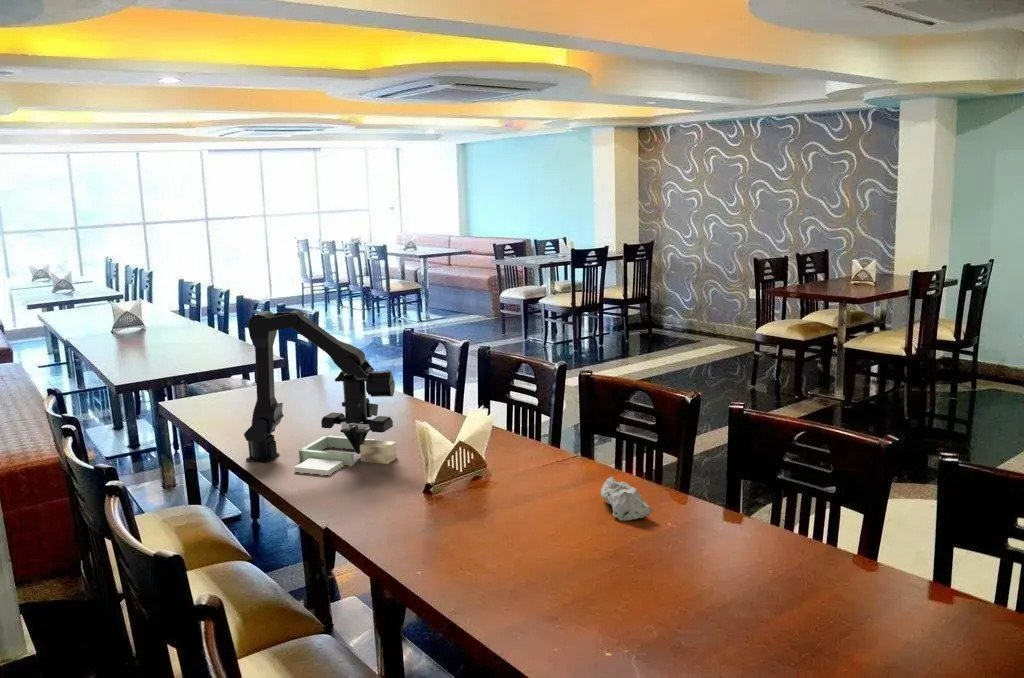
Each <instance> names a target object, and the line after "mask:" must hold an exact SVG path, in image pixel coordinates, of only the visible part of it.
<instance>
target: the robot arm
mask: <svg viewBox="0 0 1024 678" xmlns="http://www.w3.org/2000/svg"><path fill="white" fill-rule="evenodd" d="M247 327H248V328H247V329H248V333H249V339H250V340H251V343H252V344H253V346H254V351H255V353H254V355H255V356H254V357H255V358H254V359H255V378H256V379H255V381H256V384H255V385H256V402H255V405H254V408H253V412H252V419H251V426H250V427H248V428H247V429H246V431H245V432H244V433H243V437H244V438H245V440H246V441H247V442H248V443H247V444H248V445H247V446H248V454H249V456H248V457H246V458H245V461H247V462H257V463H268V462H270V461H271V460H273V459H275V458H277V457H278V456H280V453H279V452H278V450H277V442H276V440H275V435H274V434H273V433H275V431H276V427H278V426H279V424H280V423H281V421H282V418H283V417H284V413H283V405H284V404H283V402H278V401H277V399H276V396H275V395H276V394H275V371H274V365H275V364H274V345H275V344H274V343H275V341H276V336H277V334H278V331H280V330H284V329H293V330H294V331H295V332H297V333H299V335H301V336H302V337H304V338H305V339H307V340H308V341H309V342H311V343H312V344H314V345H315V346H316V347H318V348H319V349H320V350H322V352H324V353H326V354H327V355H328V356H329V357H330V359H331V360H332V362H333V363H334V364H335V365H336V366H337V367H338V369H340V370H341V371H340V372H339V374H338V376H337V377H336V378H334V382H336V383H337V382H338V383H339V382H342V387H343V402H341V407H344V413H343V412H329V414H326V415H325V416H323V417H322V418H321V420H320V427H321V428H322V429H333V428H334V426H335V425H341V429H340V433H343V434H344V437H347V439H348V440H349V441H350V443H351V445H352V446H353V448H354V449H353V450H354V451H355V453H356V454H360V445H362V444H363V443H364V441H365V439H367V435H368V433H369V432H370V431H371V432H372V433H385V432H386V431H388V430H390V429H391V428H393V427H394V422H393V419H392V418H391V416H385V415H384V416H383V415H378V411H379V410H378V409H379V404H376V403H371V402H370V399H369V397H367V395H368V396H370V397H373V398H376V397H377V398H378V397H394V396H395V395H394V394H395V388H396V387H395V380H394V377H393V375H392V370H391V369H389V370H388V369H387V370H382V371H381V370H379V371H377V370H376V371H375V368H374V367H373V366H372V365H371V364H370V362H368V360H367V359H366V354H365V352H364V351H363V350H362V349H360V348H358V347H356V346H355V345H352V344H350V343H346V342H343V341H341V340H339V339H337V338H336V337H335V336H333V334H330V333H329V332H328V331H326V330H325V329H323V327H320V326H319V325H318V324H317V323H315V321H312V320H311V319H310V318H308V317H307V316H306V315H304V314H303V313H302V312H301V311H300V310H296V309H295V310H292V311H282V312H275V313H273V312H272V311H270V310H264V311H261V312H259V313H257V314H254V315H252V316H251V317H250V318H249V320H248V322H247ZM373 416H375V418H373V419H371V418H372V417H373ZM369 418H370V419H369Z"/></svg>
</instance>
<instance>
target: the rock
mask: <svg viewBox="0 0 1024 678" xmlns="http://www.w3.org/2000/svg"><path fill="white" fill-rule="evenodd" d="M638 491H639V490H638V488H637V487H633V486H631V485H630V484H629V483H627V482H625V481H619V482H617V480H616V479H615V477H614V476H613V475H612V476H609V477H608V478H606V480H605V481H604V483H603V484H602V487H601V489H600V492H599V493H600V495H601V497H602V498H603V499H605V501H606V503H607V504H608V505H611V508H612V516H613V517H614V518H616V519H618V520H619V521H620V522H621V521H625V522H626V521H633V520H637V519H642V518H644V517H646V516H650V515H651V514H652V513H653V509H652V507H651V506H649V504H648V502H646V501H644V499H643V497H642V495H641V494H639V492H638Z"/></svg>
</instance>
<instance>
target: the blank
mask: <svg viewBox="0 0 1024 678" xmlns="http://www.w3.org/2000/svg"><path fill="white" fill-rule="evenodd" d="M397 457H398V456H397V442H396V441H388V440H379V439H378V440H377V439H376V440H368V441H366V442H365V443H363V444H362V445H360V462H363V461H365V462H367V463H375V462H376V463H377V464H385V465H386V464H387V465H389V464H390V463H391V462H392V461H394V460H396V459H397ZM365 462H364V463H365Z"/></svg>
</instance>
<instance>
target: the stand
mask: <svg viewBox="0 0 1024 678" xmlns="http://www.w3.org/2000/svg"><path fill="white" fill-rule="evenodd" d="M341 467H342V468H344V466H343V461H335V460H325V459H314V458H309V459H307V460H305V461H304V462H302V461H301V462H300V463H299V464H297V465H295V466H294V470H293V471H294V473H295V472H300V473H299V474H303V473H310V474H309V475H313V474H321V475H320V476H323V475H330V474H331V473H333V472H334V471H336V470H337V469H339V468H340V469H342V468H341ZM340 469H339V470H340ZM337 471H338V470H337ZM337 471H336V472H337ZM312 473H313V474H312ZM334 473H335V472H334ZM334 473H333V474H334ZM331 475H332V474H331ZM331 475H330V476H331Z"/></svg>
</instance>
